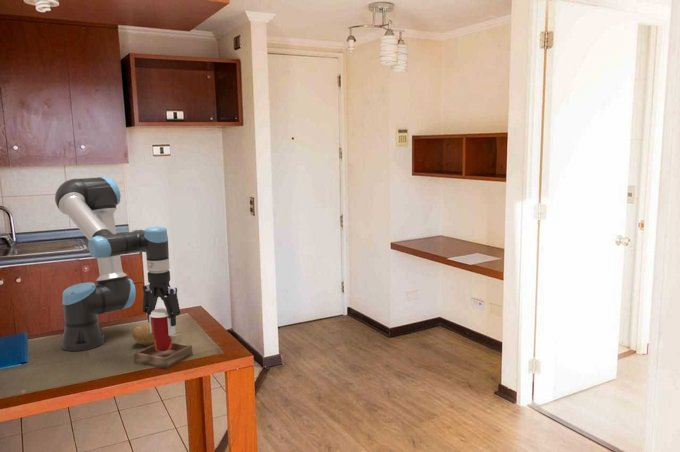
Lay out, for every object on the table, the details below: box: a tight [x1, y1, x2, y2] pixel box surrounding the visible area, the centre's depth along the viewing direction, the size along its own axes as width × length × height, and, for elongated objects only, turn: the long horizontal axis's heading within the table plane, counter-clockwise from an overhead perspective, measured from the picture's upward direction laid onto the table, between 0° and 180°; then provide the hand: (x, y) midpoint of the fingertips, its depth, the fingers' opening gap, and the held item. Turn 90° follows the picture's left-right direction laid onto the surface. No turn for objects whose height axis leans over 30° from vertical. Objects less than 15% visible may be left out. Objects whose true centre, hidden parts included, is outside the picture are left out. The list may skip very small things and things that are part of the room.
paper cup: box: [150, 307, 173, 351], centre depth 195 cm, size 8×8×14 cm
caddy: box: [134, 341, 193, 370], centre depth 196 cm, size 14×14×4 cm
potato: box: [131, 323, 155, 346], centre depth 212 cm, size 10×14×8 cm
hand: (162, 333), depth 195 cm, fingers closed on paper cup, 8 cm apart
